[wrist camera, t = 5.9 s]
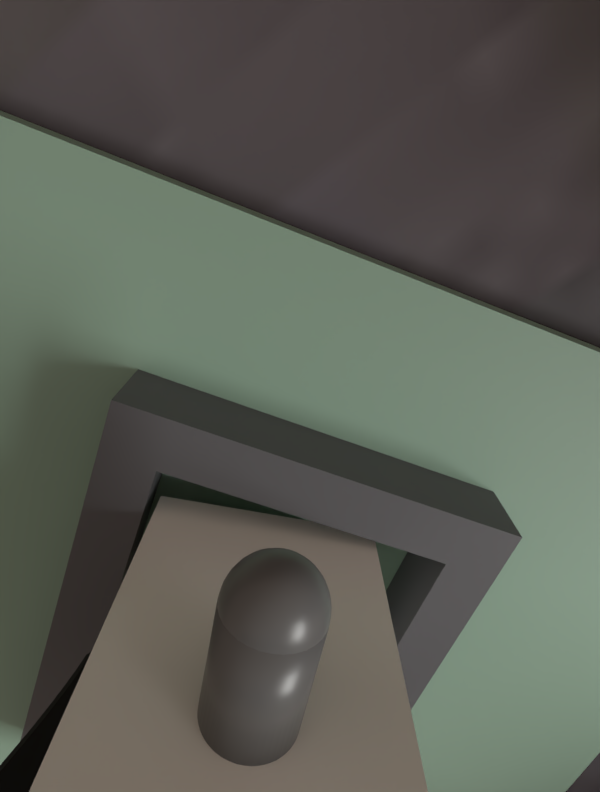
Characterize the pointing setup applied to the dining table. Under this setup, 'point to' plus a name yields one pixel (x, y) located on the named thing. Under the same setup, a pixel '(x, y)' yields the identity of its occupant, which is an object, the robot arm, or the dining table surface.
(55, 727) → the robot arm
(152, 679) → the plug
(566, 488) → the board
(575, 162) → the dining table surface
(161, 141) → the dining table surface
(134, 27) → the dining table surface
